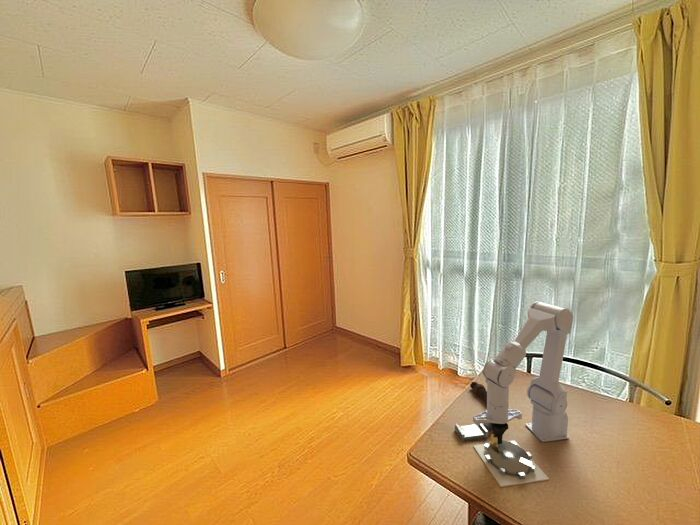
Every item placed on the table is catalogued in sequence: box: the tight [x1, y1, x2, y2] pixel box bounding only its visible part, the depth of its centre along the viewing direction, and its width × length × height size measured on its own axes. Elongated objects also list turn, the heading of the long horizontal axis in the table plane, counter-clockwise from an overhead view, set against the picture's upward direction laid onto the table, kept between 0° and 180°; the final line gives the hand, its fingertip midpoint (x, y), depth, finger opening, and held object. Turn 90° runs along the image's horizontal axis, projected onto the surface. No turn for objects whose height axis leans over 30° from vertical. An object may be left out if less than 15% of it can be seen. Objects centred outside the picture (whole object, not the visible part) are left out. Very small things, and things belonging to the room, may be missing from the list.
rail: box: [454, 423, 489, 442], centre depth 96 cm, size 9×5×2 cm, turn 96°
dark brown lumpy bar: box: [469, 381, 487, 403], centre depth 113 cm, size 6×5×15 cm
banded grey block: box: [483, 423, 493, 432], centre depth 99 cm, size 5×3×5 cm, turn 96°
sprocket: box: [484, 433, 535, 479], centre depth 84 cm, size 13×13×6 cm
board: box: [473, 439, 550, 488], centre depth 85 cm, size 14×14×1 cm
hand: (497, 441), depth 88 cm, fingers closed, pressing on sprocket
